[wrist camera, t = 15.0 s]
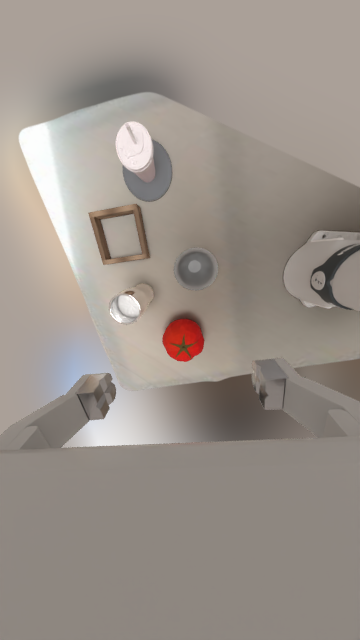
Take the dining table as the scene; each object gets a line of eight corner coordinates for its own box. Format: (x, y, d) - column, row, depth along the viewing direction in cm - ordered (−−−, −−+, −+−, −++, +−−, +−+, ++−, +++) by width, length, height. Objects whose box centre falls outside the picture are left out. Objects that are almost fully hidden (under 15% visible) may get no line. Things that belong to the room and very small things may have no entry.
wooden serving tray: (140, 207, 41) (136, 203, 38) (149, 257, 45) (147, 257, 42) (95, 215, 42) (88, 212, 39) (108, 264, 46) (103, 264, 43)
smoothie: (167, 172, 37) (155, 128, 24) (148, 196, 39) (127, 167, 26) (146, 145, 36) (121, 83, 23) (127, 172, 38) (94, 128, 25)
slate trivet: (167, 135, 36) (167, 133, 35) (175, 196, 39) (175, 195, 39) (118, 146, 37) (116, 144, 36) (130, 205, 40) (129, 204, 40)
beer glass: (159, 287, 47) (146, 300, 33) (151, 309, 50) (136, 330, 36) (135, 277, 47) (112, 287, 33) (128, 300, 49) (104, 318, 35)
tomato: (196, 352, 54) (198, 375, 44) (161, 342, 54) (155, 363, 43) (208, 318, 50) (213, 335, 39) (171, 308, 49) (166, 322, 39)
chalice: (180, 277, 46) (174, 291, 29) (179, 251, 44) (172, 248, 27) (207, 277, 46) (217, 289, 29) (207, 249, 43) (219, 246, 26)
